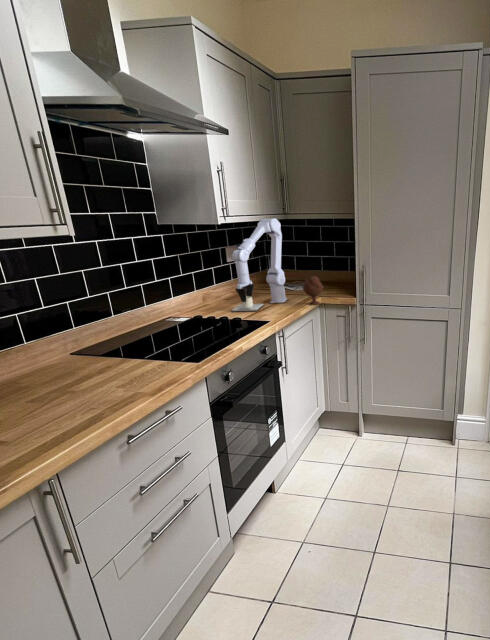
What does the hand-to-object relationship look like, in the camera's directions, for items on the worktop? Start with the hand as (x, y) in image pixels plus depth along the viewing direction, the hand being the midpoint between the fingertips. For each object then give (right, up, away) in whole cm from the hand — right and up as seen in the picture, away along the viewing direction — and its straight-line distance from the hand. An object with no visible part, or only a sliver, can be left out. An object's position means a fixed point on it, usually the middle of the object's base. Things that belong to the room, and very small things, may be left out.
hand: (247, 300), depth 229 cm
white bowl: (0, -3, +1) cm, 3 cm away
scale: (0, -4, +2) cm, 5 cm away
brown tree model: (+34, 0, +9) cm, 35 cm away
